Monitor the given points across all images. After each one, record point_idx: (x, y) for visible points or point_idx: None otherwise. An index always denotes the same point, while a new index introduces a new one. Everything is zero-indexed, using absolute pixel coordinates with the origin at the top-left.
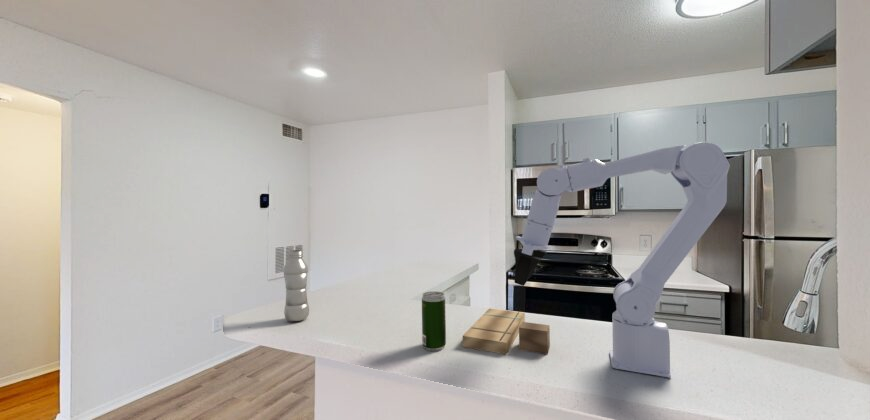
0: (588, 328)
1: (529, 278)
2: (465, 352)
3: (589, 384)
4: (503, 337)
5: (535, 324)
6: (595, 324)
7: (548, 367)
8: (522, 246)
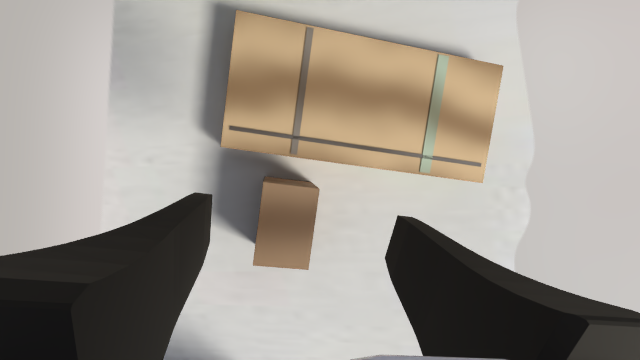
0: None
1: (386, 258)
2: (205, 37)
3: None
4: (256, 135)
5: (304, 229)
6: None
7: None
8: (574, 321)
